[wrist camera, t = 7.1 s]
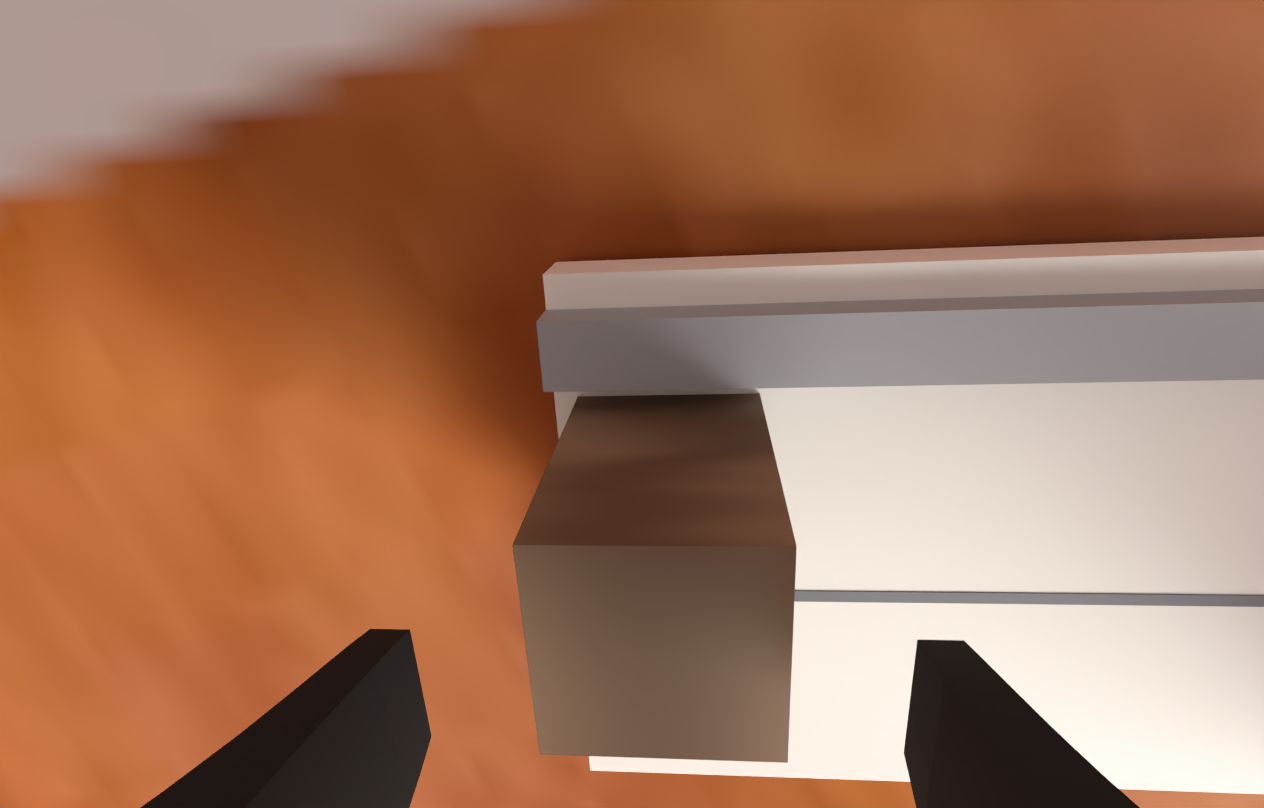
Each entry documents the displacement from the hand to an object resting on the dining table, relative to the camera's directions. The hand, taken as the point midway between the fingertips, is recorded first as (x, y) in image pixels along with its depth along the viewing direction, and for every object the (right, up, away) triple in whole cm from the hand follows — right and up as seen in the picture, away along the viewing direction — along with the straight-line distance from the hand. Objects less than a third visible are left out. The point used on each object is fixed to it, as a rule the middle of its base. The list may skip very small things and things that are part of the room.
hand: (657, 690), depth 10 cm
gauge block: (+1, +2, +6) cm, 7 cm away
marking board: (+7, +1, +8) cm, 11 cm away
